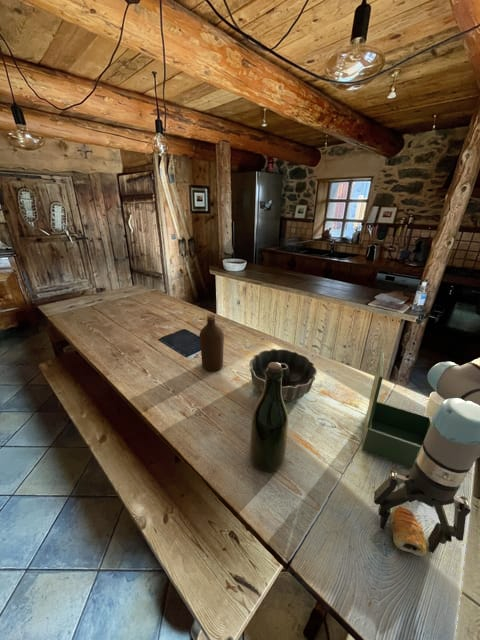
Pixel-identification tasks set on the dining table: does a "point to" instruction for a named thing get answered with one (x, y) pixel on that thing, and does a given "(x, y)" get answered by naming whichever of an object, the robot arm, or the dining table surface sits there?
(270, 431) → the beer bottle
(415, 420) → the bin
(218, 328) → the olive oil
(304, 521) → the dining table surface
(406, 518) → the pastry
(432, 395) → the white cup
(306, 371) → the bundt pan
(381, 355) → the bin lid
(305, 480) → the dining table surface
